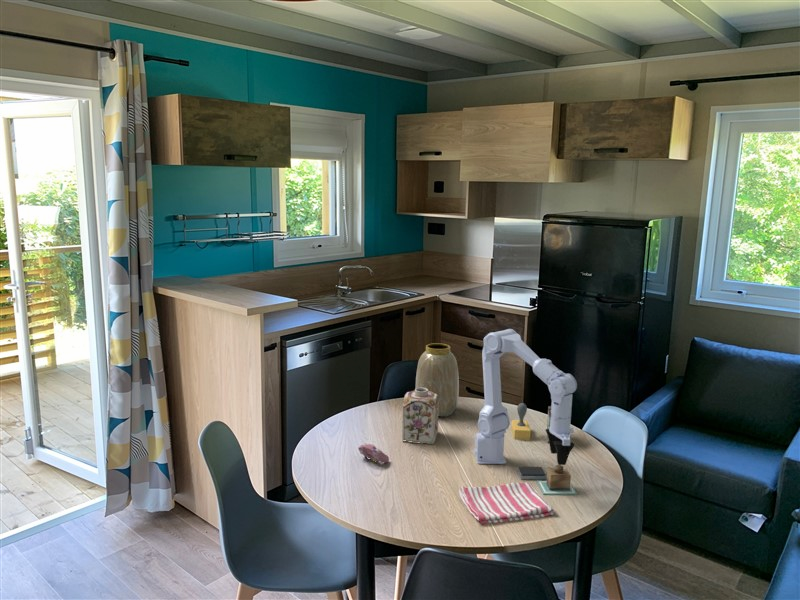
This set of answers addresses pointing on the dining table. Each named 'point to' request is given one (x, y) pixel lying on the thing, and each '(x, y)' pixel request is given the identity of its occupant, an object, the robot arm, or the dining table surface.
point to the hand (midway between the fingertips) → (558, 458)
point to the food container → (548, 420)
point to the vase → (439, 376)
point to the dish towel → (505, 503)
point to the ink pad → (531, 473)
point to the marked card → (546, 490)
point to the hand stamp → (558, 479)
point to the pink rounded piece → (373, 453)
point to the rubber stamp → (521, 424)
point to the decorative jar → (420, 416)
